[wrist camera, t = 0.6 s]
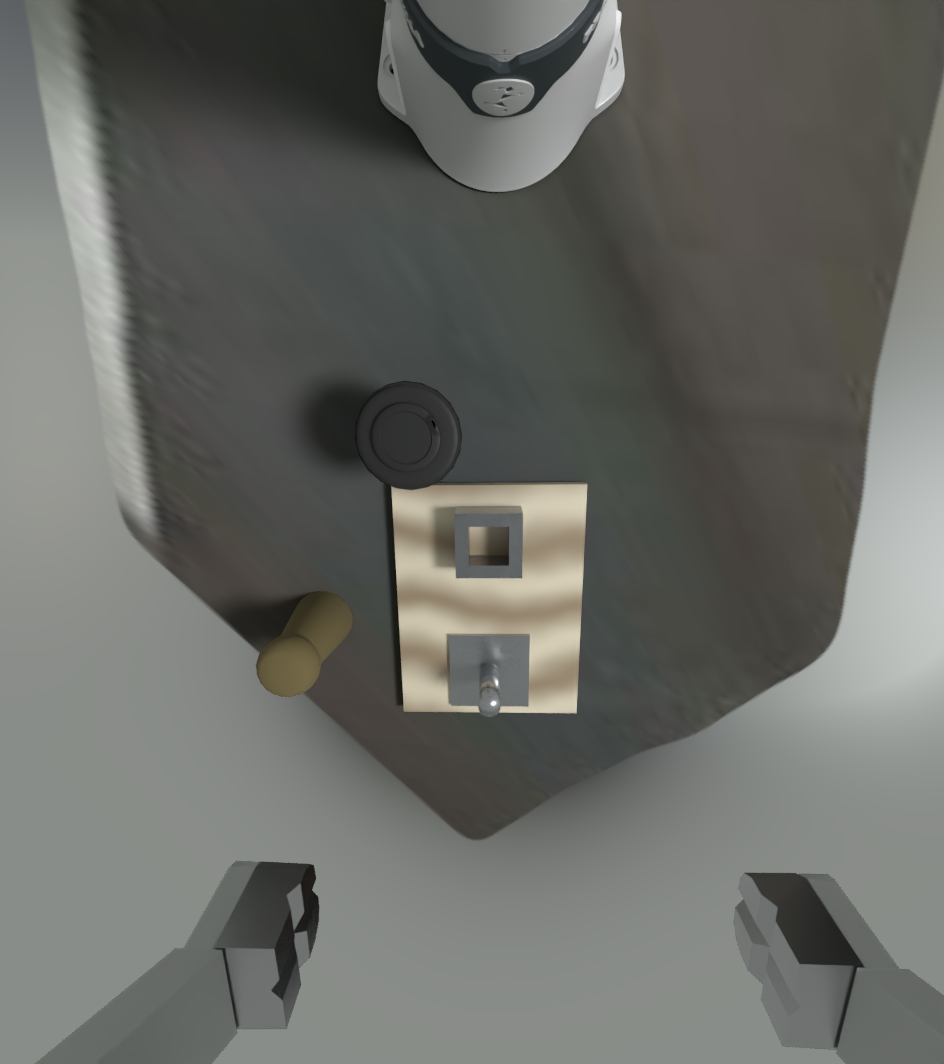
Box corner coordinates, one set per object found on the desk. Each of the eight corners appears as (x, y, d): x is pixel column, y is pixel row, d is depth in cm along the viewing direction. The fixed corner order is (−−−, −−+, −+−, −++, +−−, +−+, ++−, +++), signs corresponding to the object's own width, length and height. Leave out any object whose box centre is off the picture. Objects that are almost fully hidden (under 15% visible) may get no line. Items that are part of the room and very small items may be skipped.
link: (456, 506, 47) (454, 513, 44) (521, 506, 47) (523, 513, 44) (457, 567, 48) (455, 578, 46) (520, 567, 48) (522, 578, 45)
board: (393, 483, 48) (391, 485, 47) (584, 482, 47) (587, 484, 46) (405, 704, 54) (403, 711, 53) (574, 706, 53) (576, 713, 52)
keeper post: (449, 633, 50) (443, 666, 44) (529, 633, 50) (535, 667, 44) (451, 703, 52) (446, 744, 46) (528, 704, 52) (533, 745, 46)
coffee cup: (484, 417, 46) (482, 423, 36) (436, 489, 48) (422, 513, 38) (409, 365, 45) (387, 356, 35) (363, 441, 47) (330, 453, 37)
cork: (282, 617, 52) (229, 674, 41) (321, 579, 51) (276, 628, 40) (326, 656, 53) (285, 721, 42) (365, 620, 52) (332, 678, 41)
